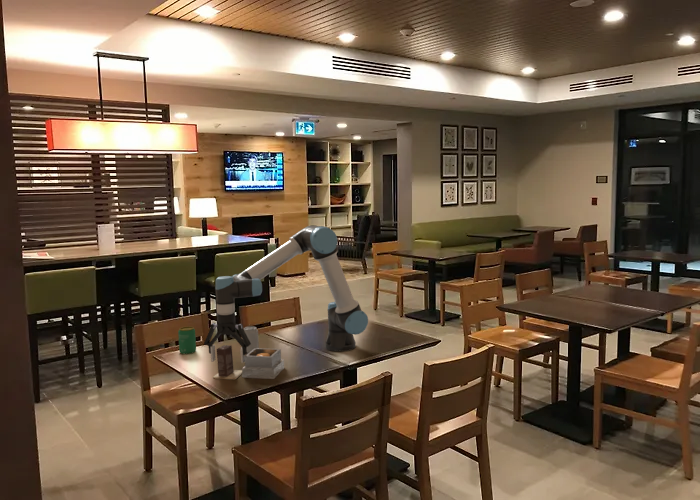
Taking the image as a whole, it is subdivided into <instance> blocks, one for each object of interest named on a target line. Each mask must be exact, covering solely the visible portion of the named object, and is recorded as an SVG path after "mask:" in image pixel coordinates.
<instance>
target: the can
mask: <svg viewBox="0 0 700 500" xmlns="http://www.w3.org/2000/svg"><path fill="white" fill-rule="evenodd" d="M243 329H244V331H245V333H246V335H247V337H248V339H249V341H250V343H251V345H249V346H248V347H247V354H248V353H249V352H251V351H252V350H253V349H254V348H260V347H259V346H260V345H259V330H258V329H257V327H256V326H245V327H243Z"/></svg>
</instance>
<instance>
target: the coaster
mask: <svg viewBox="0 0 700 500" xmlns="http://www.w3.org/2000/svg"><path fill="white" fill-rule="evenodd" d="M233 370H234V372H233V373H231V374H230V375H228V376H227V377H224V376H219V374H218V372H217V373H216V374H215V375H214V376H212V379H214V378H215V380H217V379H218V380H235V381H236V380H237V378H239V377H240V376H242V369H233Z"/></svg>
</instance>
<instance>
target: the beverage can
mask: <svg viewBox="0 0 700 500" xmlns="http://www.w3.org/2000/svg"><path fill="white" fill-rule="evenodd" d="M177 334H178V336H177V337H178V352H179V353H180V354H181V355H190V354H191V355H192V354H195V352H196V351H197V342H196V341H197V340H196V339H197V338H196V337H197V336H196V329H195V327H193V326H182V327H179V329H178V333H177Z"/></svg>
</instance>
